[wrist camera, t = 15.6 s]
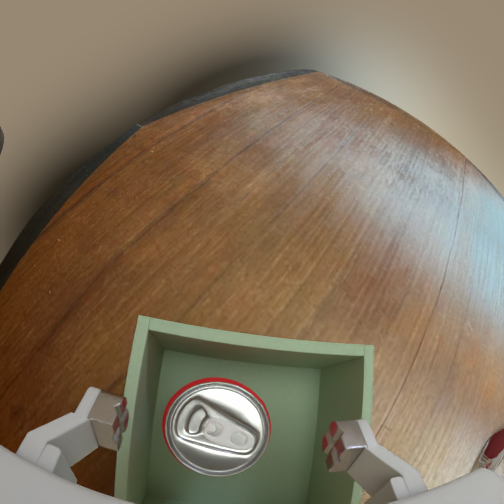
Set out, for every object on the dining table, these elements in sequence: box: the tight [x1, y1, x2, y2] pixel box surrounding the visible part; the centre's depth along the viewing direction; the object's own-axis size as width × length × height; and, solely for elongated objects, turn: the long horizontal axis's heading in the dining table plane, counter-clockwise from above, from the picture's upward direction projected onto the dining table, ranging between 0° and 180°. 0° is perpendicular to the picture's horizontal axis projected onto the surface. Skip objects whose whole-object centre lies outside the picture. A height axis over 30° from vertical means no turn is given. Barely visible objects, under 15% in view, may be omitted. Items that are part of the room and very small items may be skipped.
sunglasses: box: [479, 429, 504, 472], centre depth 18 cm, size 17×17×5 cm
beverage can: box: [162, 377, 271, 477], centre depth 16 cm, size 5×5×12 cm
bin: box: [114, 315, 374, 504], centre depth 18 cm, size 16×16×9 cm
